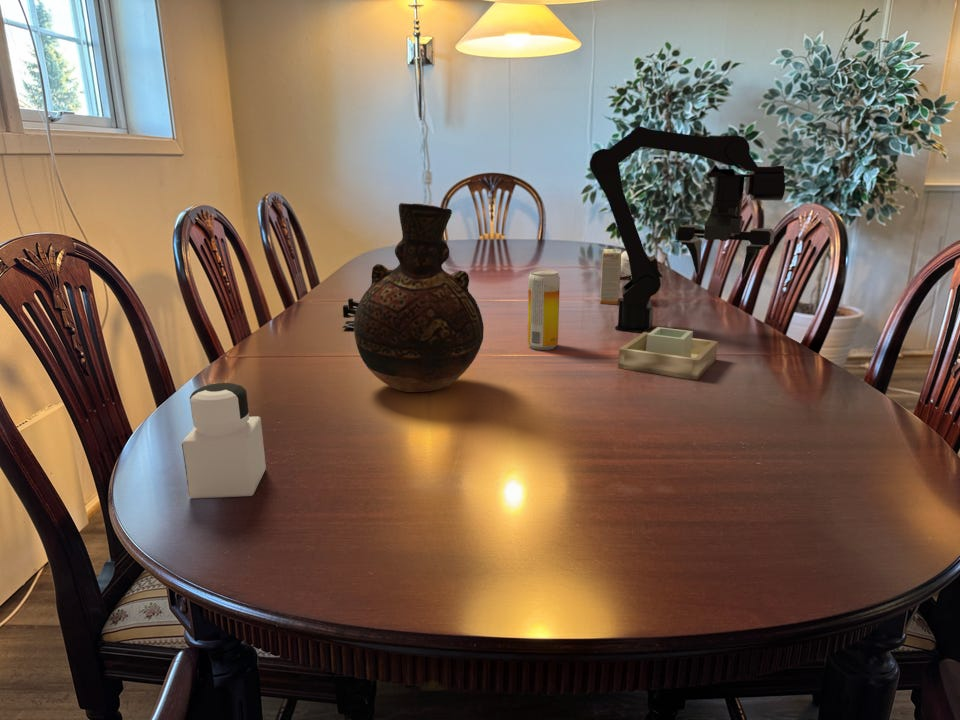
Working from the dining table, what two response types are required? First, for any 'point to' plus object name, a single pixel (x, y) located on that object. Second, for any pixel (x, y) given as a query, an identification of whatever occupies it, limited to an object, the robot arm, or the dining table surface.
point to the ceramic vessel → (418, 310)
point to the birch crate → (668, 359)
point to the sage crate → (670, 342)
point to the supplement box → (610, 276)
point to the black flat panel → (349, 310)
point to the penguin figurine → (625, 264)
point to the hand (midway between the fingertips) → (720, 276)
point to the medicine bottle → (223, 444)
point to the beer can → (543, 309)
